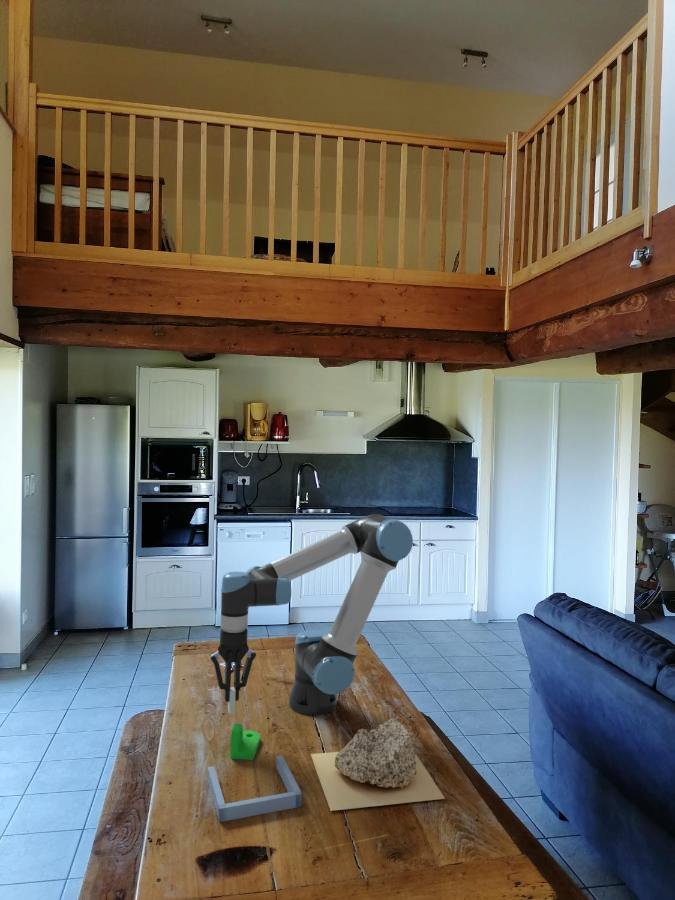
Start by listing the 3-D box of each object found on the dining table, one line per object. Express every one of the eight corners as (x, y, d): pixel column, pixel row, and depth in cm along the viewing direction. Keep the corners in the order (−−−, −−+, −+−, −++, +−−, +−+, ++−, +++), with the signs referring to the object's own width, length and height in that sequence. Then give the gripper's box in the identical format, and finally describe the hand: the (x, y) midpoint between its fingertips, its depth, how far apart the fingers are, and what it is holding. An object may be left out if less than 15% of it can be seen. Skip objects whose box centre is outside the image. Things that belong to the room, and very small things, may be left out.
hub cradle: (282, 766, 162) (282, 755, 162) (301, 806, 145) (302, 793, 145) (207, 779, 156) (207, 767, 156) (219, 822, 139) (219, 808, 139)
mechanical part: (253, 760, 165) (253, 730, 165) (230, 759, 166) (231, 729, 165) (261, 738, 177) (262, 710, 177) (240, 737, 178) (241, 709, 177)
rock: (409, 743, 173) (423, 707, 165) (433, 825, 156) (449, 789, 147) (310, 751, 167) (318, 714, 158) (322, 837, 149) (333, 801, 141)
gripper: (254, 622, 181) (251, 703, 182) (208, 626, 177) (205, 709, 177) (259, 631, 174) (257, 715, 175) (212, 634, 170) (209, 720, 170)
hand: (231, 712), depth 176 cm, fingers closed
